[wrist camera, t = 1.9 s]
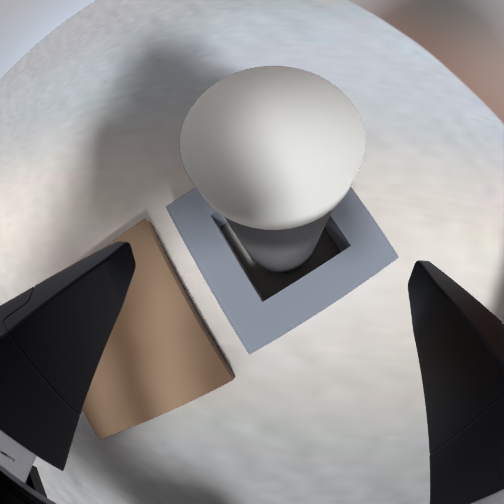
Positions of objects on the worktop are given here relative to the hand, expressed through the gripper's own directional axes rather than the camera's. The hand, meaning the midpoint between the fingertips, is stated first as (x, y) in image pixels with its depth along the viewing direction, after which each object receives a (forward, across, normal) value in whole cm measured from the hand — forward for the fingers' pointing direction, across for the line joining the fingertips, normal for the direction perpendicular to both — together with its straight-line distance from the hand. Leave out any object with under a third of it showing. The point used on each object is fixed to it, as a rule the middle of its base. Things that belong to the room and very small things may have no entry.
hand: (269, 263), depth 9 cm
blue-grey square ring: (+9, 0, +5) cm, 11 cm away
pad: (+4, +10, +10) cm, 15 cm away
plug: (+9, 0, +5) cm, 11 cm away
